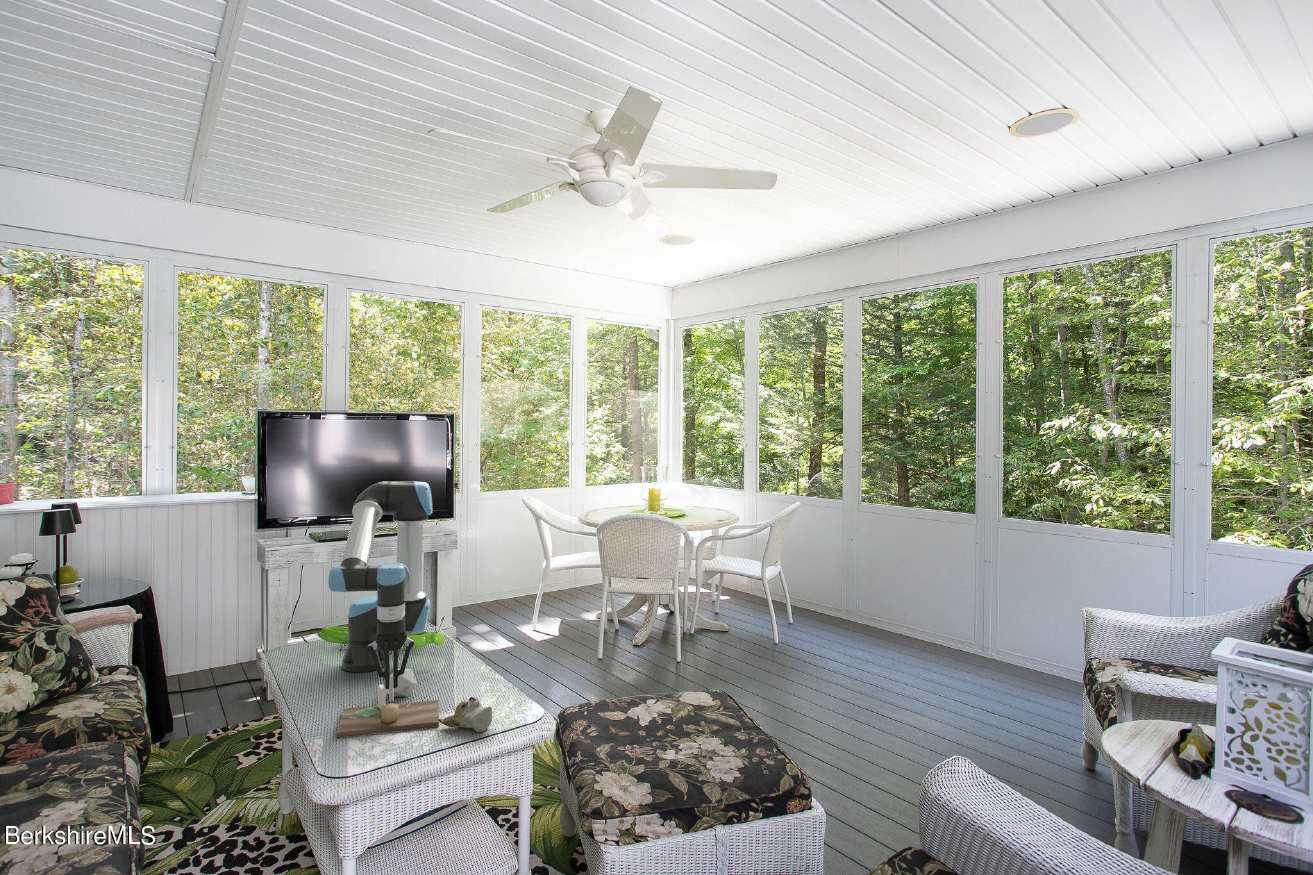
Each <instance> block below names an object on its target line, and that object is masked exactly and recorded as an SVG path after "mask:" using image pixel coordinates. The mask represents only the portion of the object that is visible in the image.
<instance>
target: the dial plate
mask: <svg viewBox="0 0 1313 875" xmlns="http://www.w3.org/2000/svg"><path fill="white" fill-rule="evenodd" d="M397 704H398V705H399V708H398V720H397V721H395V722H391V723H384V722H382V721H381V710H380V708H379V707H378V705H369V706H360V707H359V706H358V707H348V708H343V711H342V713H341V717H340V720H339V724H338V726H337V729H336V733H335V734H336V735H335V738H336V739H341V738H350V737H358V736H370V735H377V734H387V733H388V734H389V733H397V732H404V731H405V732H407V731H415V730H422V729H423V730H424V729H433V728H439V727H440V722H439V721H438V719H440V714H439V713H440V708H439V705H440V704H439V699H432V700H421V701H409V702H401V703H399V702H398V703H397Z"/></svg>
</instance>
